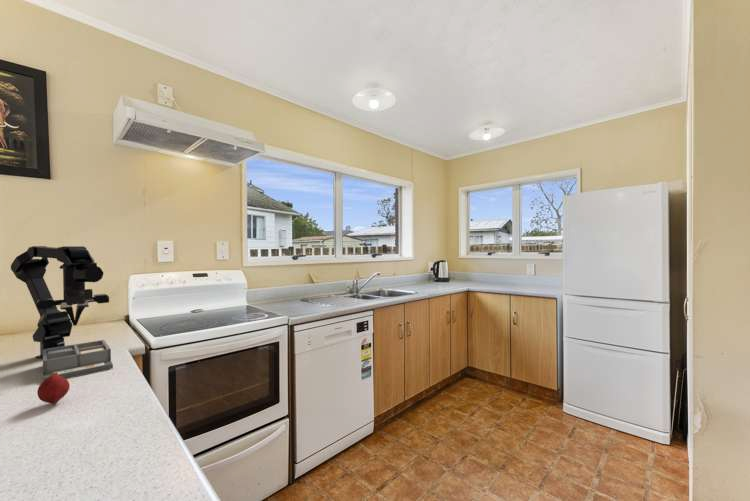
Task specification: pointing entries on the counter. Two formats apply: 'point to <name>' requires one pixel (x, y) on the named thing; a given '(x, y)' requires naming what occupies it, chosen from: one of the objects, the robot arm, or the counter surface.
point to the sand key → (91, 350)
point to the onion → (53, 388)
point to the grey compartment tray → (77, 359)
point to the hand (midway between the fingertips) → (75, 325)
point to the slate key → (60, 350)
